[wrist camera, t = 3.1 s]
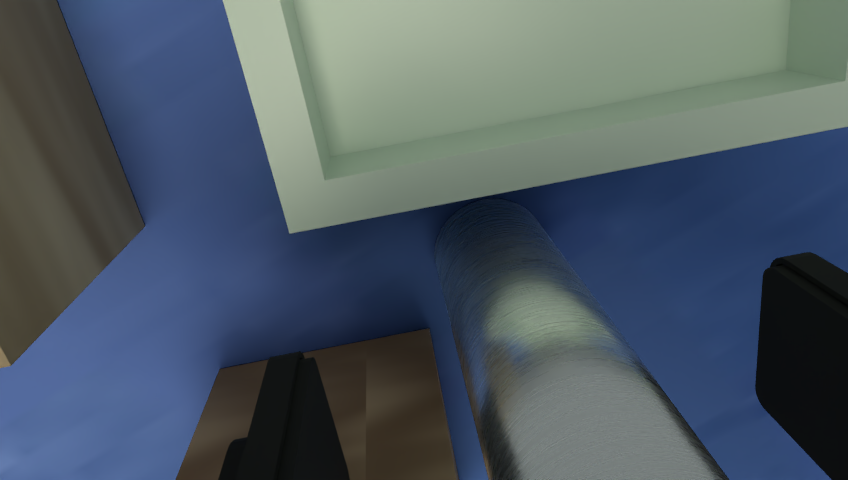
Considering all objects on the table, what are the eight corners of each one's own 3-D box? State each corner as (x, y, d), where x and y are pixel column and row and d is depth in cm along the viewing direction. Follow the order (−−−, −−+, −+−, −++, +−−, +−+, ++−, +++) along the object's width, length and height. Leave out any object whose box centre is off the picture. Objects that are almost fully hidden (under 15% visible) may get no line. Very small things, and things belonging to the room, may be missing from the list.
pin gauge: (539, 188, 15) (797, 484, 6) (549, 288, 16) (776, 663, 7) (425, 210, 15) (512, 540, 6) (443, 309, 16) (539, 712, 7)
